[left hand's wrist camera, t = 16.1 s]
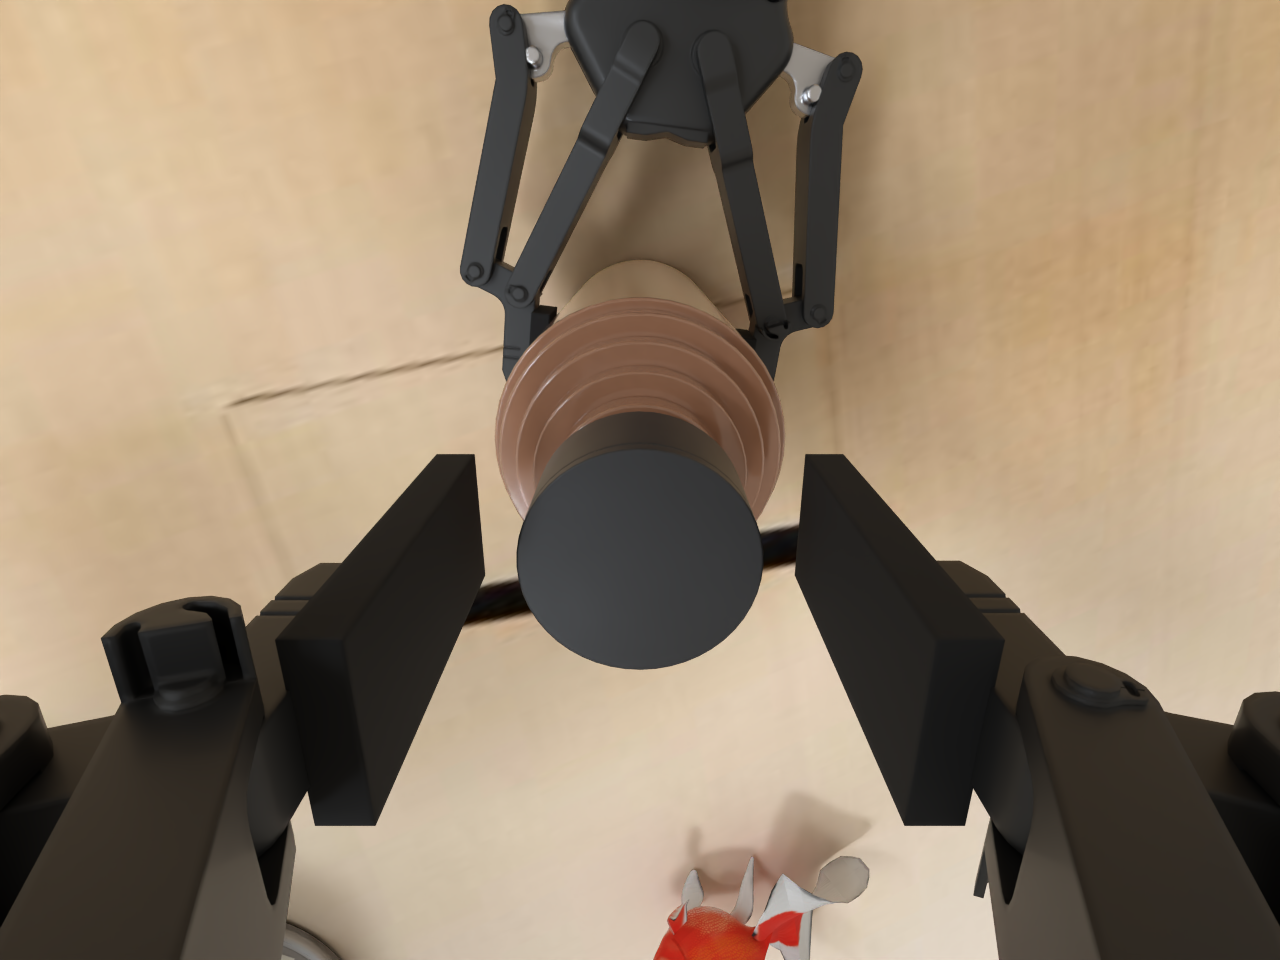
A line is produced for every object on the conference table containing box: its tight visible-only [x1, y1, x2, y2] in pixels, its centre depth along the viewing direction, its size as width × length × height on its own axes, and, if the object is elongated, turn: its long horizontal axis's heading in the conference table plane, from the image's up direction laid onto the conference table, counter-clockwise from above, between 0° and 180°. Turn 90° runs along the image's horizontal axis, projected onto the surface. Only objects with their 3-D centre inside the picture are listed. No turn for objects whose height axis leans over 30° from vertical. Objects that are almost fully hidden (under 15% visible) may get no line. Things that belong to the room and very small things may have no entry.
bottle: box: [495, 260, 785, 520], centre depth 24 cm, size 8×8×25 cm
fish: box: [653, 856, 869, 960], centre depth 45 cm, size 11×16×10 cm
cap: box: [517, 411, 763, 670], centre depth 13 cm, size 4×4×2 cm
